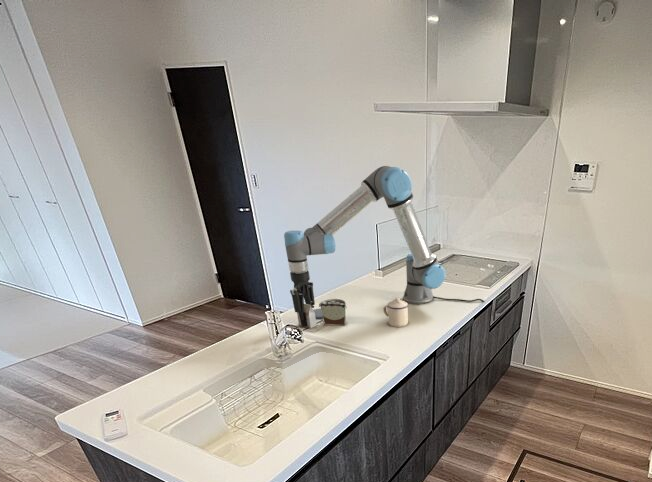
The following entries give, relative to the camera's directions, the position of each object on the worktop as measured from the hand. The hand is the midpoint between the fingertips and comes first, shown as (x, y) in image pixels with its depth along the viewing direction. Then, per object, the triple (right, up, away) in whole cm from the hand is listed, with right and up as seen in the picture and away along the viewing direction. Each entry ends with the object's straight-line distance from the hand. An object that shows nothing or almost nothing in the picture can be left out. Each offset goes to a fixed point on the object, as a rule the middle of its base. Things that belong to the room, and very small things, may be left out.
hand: (307, 324), depth 189 cm
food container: (+12, +1, +4) cm, 13 cm away
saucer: (+3, +7, +12) cm, 14 cm away
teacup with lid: (+38, +1, +5) cm, 39 cm away
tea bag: (0, -1, 0) cm, 1 cm away
